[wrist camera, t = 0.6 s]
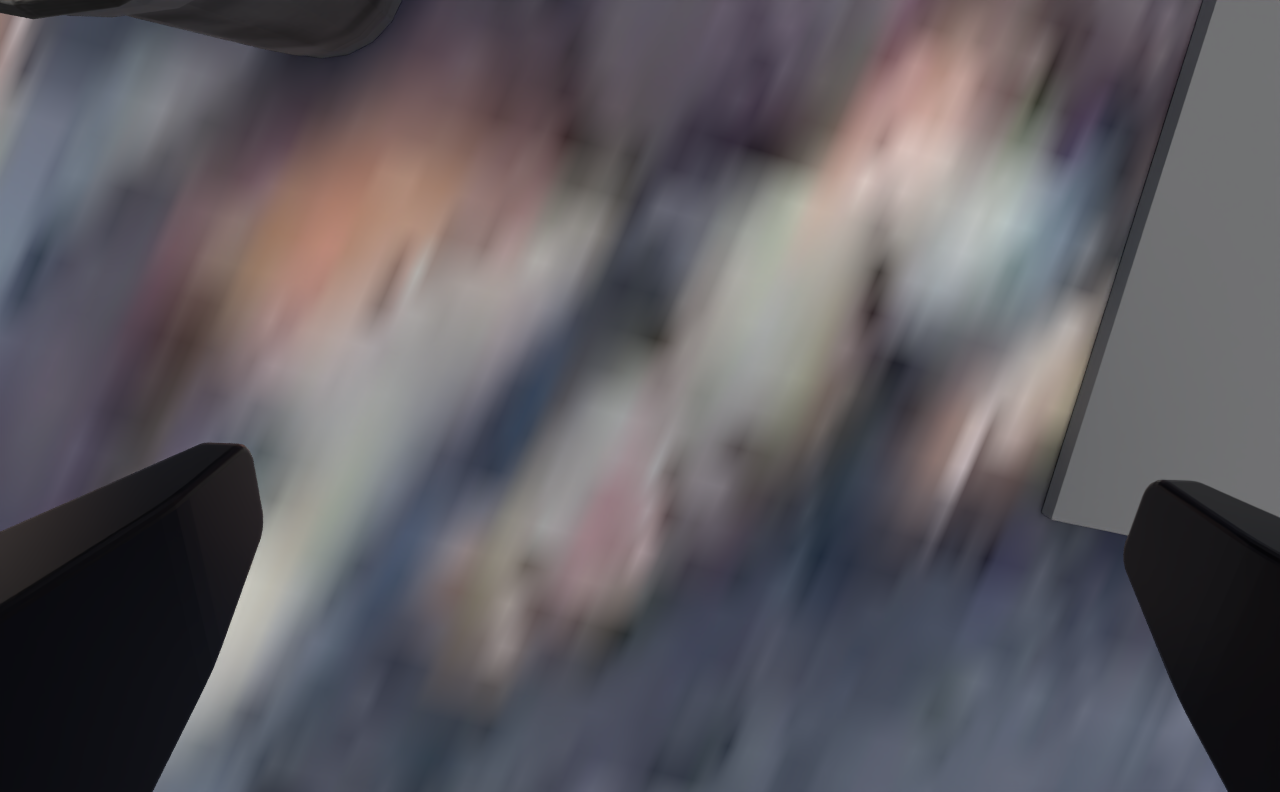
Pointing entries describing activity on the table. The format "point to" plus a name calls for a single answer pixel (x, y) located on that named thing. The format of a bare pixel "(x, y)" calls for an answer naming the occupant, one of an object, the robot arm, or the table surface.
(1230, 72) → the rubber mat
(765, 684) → the table surface
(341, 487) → the table surface
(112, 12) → the beverage cup
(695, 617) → the table surface
